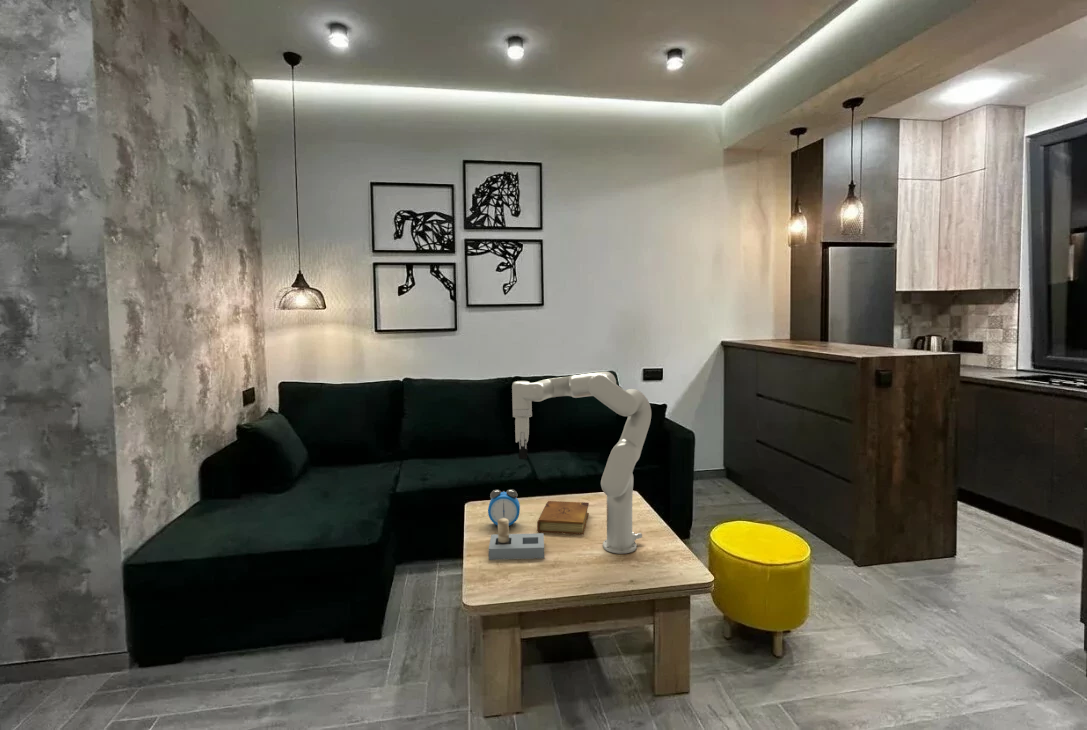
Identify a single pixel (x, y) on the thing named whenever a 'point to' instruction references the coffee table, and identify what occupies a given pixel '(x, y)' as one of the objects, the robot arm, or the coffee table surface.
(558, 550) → the coffee table surface
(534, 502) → the coffee table surface
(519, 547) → the board
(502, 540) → the dowel
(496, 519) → the alarm clock
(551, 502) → the diary
